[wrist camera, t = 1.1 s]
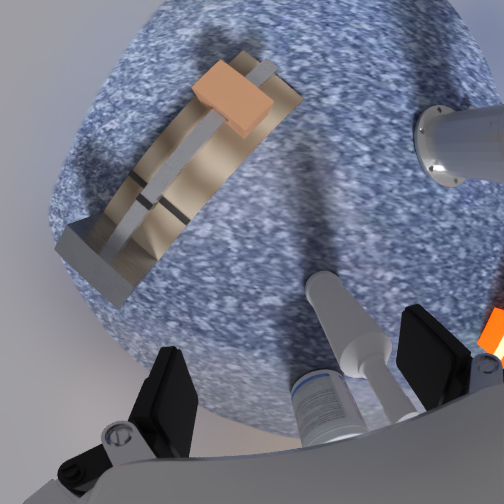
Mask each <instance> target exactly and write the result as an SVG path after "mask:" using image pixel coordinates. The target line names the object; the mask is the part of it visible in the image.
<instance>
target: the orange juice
mask: <svg viewBox="0 0 504 504" xmlns="http://www.w3.org/2000/svg"><path fill="white" fill-rule="evenodd" d="M477 344H479V345H480V346H481V347H482V348H483V349H484V350H485V351H486V352H487V353H490V354H493V355H495V356H497V357H498V358H499V359H500V360H501V362H502V365H503V367H504V310H501V309H498V308H494V310H493V312H492V314H491V316H490V319H489V321H488V323H487V325H486V327H485V329H484V331H483V333H482V335H481V337H480V339H479V341H478V342H477Z"/></svg>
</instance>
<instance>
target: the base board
mask: <svg viewBox="0 0 504 504" xmlns="http://www.w3.org/2000/svg"><path fill="white" fill-rule="evenodd" d="M258 64H260V62H259V61H257V60H256V59H255V58H253V57H252V56H251V55H249V54H248V53H247V52H245V51H244V50H243V51H242V52H241V53H239V54H238V55H237V56H236V57H235V58H234V59H233V60H232V61H230V62H229V63H228V65H229V66H231V67H232V68H233V69H235V70H236V71H237V72H238V73H240V74H241V75H242V76H244V77H245V76H246V75H247V74H248V73H250V72H251V71H252V70H253V69H254V68H255V67H256V66H257V65H258ZM260 90H261V91H262V92H264V93H265V94H266V95H267V96H268V97H270V98H271V99H272V100H273V101H274V103H273V105H272V107H271V109H270V112H269V114H268V116H267V117H266V118H265V119H264V120H263V121H262V122H261V123H260V124H259V125H258V126H257V127H256V128H255V129H254V130H253V131H252V132H251V133H250V134H249V135H248V136H247V137H246V138H245V139H243V138H242V137H241V136H240V135H239V134H238V133H236V132H235V131H234V130H233V129H232V128H230V127H229V126H228V125H227V124H225V125H224V126H223V127H222V128H221V129H220V130H219V131H218V132H217V133H216V134H215V135H214V136H213V138H212V139H211V140H210V141H209V142H208V143H207V144H206V145H205V146H204V148H203V149H202V150H201V151H200V152H199V153H198V154H197V155H196V157H195V158H194V159H193V160H192V161H191V162H190V163H189V165H188V166H187V167H186V168H185V169H184V171H183V172H182V173H181V174H180V175H179V177H178V178H177V179H176V180H175V181H174V183H173V184H172V185H171V186H170V187H169V189H168V190H167V191H166V192H165V194H164V195H163V196H162V197H161V199H160V200H159V201H158V204H157V205H156V207H155V208H154V209H152V210H151V212H150V213H149V214H148V216H147V217H146V218H145V220H144V221H143V222H142V224H141V225H140V226H139V228H138V229H137V230H136V232H135V233H134V235H133V236H132V237H131V238H132V239H133V240H134V241H136V242H137V243H138V244H139V245H140V246H141V247H142V248H144V249H145V250H146V251H147V252H148V253H149V254H151V255H152V256H153V257H154V258H155V259H156V260H159V259H160V258H161V257H162V255H163V254H164V253H165V252H166V250H167V249H168V248H169V247H170V245H171V244H172V243H173V242H174V240H175V239H176V238H177V237H178V236H179V234H180V233H181V232H182V231H183V230H184V228H185V227H186V226H187V225H188V224H189V222H190V221H191V220H192V219H193V218H194V216H195V215H196V214H197V213H198V212H199V211H200V209H201V208H202V207H203V206H204V205H205V204H206V202H207V201H208V200H209V199H210V198H211V197H212V195H213V194H214V193H215V192H216V191H217V190H218V189H219V188H220V186H221V185H222V184H223V183H224V182H225V181H226V180H227V179H228V177H229V176H230V175H231V174H232V173H233V172H234V171H235V170H236V169H237V168H238V166H239V165H240V164H241V163H242V162H243V161H244V160H245V159H246V158H247V157H248V156H249V155H250V154H251V152H252V151H253V150H254V149H255V148H256V147H257V146H258V145H259V144H260V143H261V142H262V141H263V140H264V139H265V138H266V137H267V136H268V135H269V134H270V133H271V132H272V131H273V130H274V128H275V127H276V126H277V125H278V124H279V123H280V122H281V121H282V120H283V119H284V118H285V117H286V116H287V115H288V114H289V113H290V112H291V111H292V110H293V109H294V108H295V107H297V106H298V105H299V104H300V103H301V102H302V101H303V98H302V97H301V96H300V95H299V94H298V93H296V92H295V91H294V90H293V89H292V88H291V87H290V86H288V85H287V84H286V83H285V82H284V81H282V80H281V79H280V78H279V77H278V76H276V75H275V76H273V77H272V78H271V79H270V80H269V81H268V82H267V83H266V84H265V85H264V86H263V87H262V88H261V89H260ZM209 112H210V110H209V109H207V108H206V107H205V106H204V105H202V104H201V102H200V101H199V99H198V97H197V96H195V97H194V98H193V99H192V100H191V101H190V102H189V103H188V104H187V105H186V106H185V107H184V108H183V109H182V111H181V112H180V113H179V114H178V115H177V116H176V117H175V118H174V119H173V121H172V122H171V123H170V124H169V125H168V126H167V127H166V129H165V130H164V131H163V132H162V133H161V135H160V136H159V137H158V138H157V139H156V141H155V142H154V143H153V144H152V145H151V147H150V148H149V149H148V150H147V152H146V153H145V154H144V155H143V157H142V158H141V159H140V161H139V162H138V163H137V165H136V166H135V167H134V169H133V170H131V172H130V173H129V174H128V177H127V178H126V179H125V181H124V182H123V184H122V185H121V186H120V188H119V189H118V191H117V192H116V193H115V195H114V196H113V198H112V199H111V201H110V202H109V204H108V205H107V207H106V208H105V210H104V211H103V212H104V213H105V214H106V215H107V216H108V217H109V218H110V219H111V220H112V221H113V222H115V223H116V224H117V225H118V224H119V223H120V222H121V220H122V219H123V217H124V216H125V214H126V213H127V212H128V210H129V209H130V207H131V206H132V205H133V203H134V202H135V201H136V197H137V196H138V195H139V193H141V192H142V191H143V190H144V188H145V187H146V186H147V185H148V183H149V182H150V181H151V179H152V178H153V177H154V176H155V174H156V173H157V172H158V171H159V169H160V168H161V167H162V166H163V164H164V163H165V162H166V161H167V159H168V158H169V157H170V156H171V155H172V153H173V152H174V151H175V150H176V149H177V148H178V146H179V145H180V144H181V143H182V142H183V141H184V139H185V138H186V137H187V136H188V135H189V134H190V133H191V132H192V130H193V129H194V128H195V127H196V126H197V125H198V124H199V123H200V122H201V121H202V119H203V118H204V117H205V116H206V115H207V114H208V113H209ZM154 266H155V265H154Z"/></svg>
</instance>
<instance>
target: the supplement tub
mask: <svg viewBox="0 0 504 504" xmlns="http://www.w3.org/2000/svg"><path fill="white" fill-rule="evenodd" d="M291 400H292V404H293V409H294V413H295V417H296V422H297V426H298V430H299V435H300V439H301V443H302V447H309V446H314V445H319V444H324V443H328V442H333V441H337V440H341V439H345V438H349V437H353V436H356V435H360V434H364V433H367V432H369V430H368V428H367V426H366V424H365V421H364V419H363V417H362V415H361V413H360V411H359V409H358V407H357V405H356V402H355V400H354V398H353V396H352V394H351V392H350V390H349V388H348V386H347V384H346V382H345V380H344V378H343V376H342V375H341V374H339V373H338V372H336V371H333V370H327V369H324V370H317V371H313V372H310V373H308V374H306V375H304V376H303V377H301V378H300V379H299V380H298V381H297V382H296V383H295V384H294V386H293V388H292V391H291Z"/></svg>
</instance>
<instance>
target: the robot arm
mask: <svg viewBox="0 0 504 504" xmlns="http://www.w3.org/2000/svg"><path fill="white" fill-rule="evenodd" d="M414 141H415V149H416V153H417V156H418V160H419V162H420V164H421V166H422V168H423V169H424V171H425V173H426V174H427V175H428V176H429V177H430V178H431V179H432V180H433V181H434V182H436V183H438V184H440V185H443V186H449V187H454V186H458V185H459V184H461V183H463V182H464V181H465V180H466V179H467V178H469V179H478V180H485V181H492V182H499V183H504V104H502V105H494V106H487V107H481V108H474V107H473V106H471V105H470V106H468V108H467V109H466V110H463V111H457V112H456V111H454V110H453V109H451V108H450V107H447V106H444V105H435V106H431V107H428V108H427V109H425V110H424V111H423V112H422V113H421V114H420V116H419V118H418V120H417V123H416V126H415V133H414ZM470 355H471V352H470V351H469V350H468V349H467V348H466V347H465V346H464V345H463V344H462V343H461V342H460V341H459V340H458V339H457V338H456V337H455V336H454V335H453V334H451V333H450V332H449V331H448V330H447V329H446V328H445V327H444V326H443V325H442V324H441V323H440V322H438V321H437V320H436V319H435V318H434V317H433V316H432V315H431V314H430V313H429V312H427V311H426V310H425V309H424V308H423V307H422V306H421V305H419V304H415V305H411V306H407V307H406V308H405V311H403V312H402V318H401V327H400V336H399V344H398V351H397V358H396V364H397V367H398V369H399V370H400V371H401V373H402V374H403V376H404V377H405V379H406V380H407V382H408V383H409V385H410V386H411V388H412V389H413V391H414V392H415V394H416V395H417V397H418V398H419V400H420V401H421V403H422V405H423V406H424V408H425V409H426V411H427V412H424V413H422V414H419V415H417V416H414V417H412V418H409V419H406V420H404V421H401V422H398V423H395V424H392V425H389V426H386V427H383V428H380V429H377V430H374V431H370V432H367V433H364V434H360V435H356V436H353V437H349V438H345V439H341V440H337V441H333V442H328V443H324V444H319V445H314V446H309V447H303V448H297V449H291V450H285V451H278V452H270V453H263V454H253V455H240V456H224V457H197V458H196V457H193V458H192V457H191V458H189V453H190V447H191V441H192V435H193V429H194V423H195V417H196V412H197V406H198V396H197V393H196V390H195V388H194V385H193V382H192V380H191V377H190V374H189V371H188V369H187V366H186V363H185V360H184V357H183V354H182V352H181V350H180V349H177V348H176V347H175V346H170V347H161V349H160V351H159V353H158V356H157V358H156V360H155V363H154V365H153V367H152V370H151V372H150V375H149V377H148V378H146V379H145V381H144V383H143V385H142V387H141V390H140V392H139V395H138V397H137V399H136V402H135V404H134V407H133V409H132V411H131V414H130V416H129V419H128V421H117V422H114V423H112V424H110V425H108V426H107V427H106V428H105V429H104V431H103V432H102V435H101V441H102V444H100V445H98V446H96V447H94V448H92V449H90V450H88V451H86V452H84V453H82V454H80V455H78V456H76V457H74V458H71V459H69V460H67V461H66V462H64V463H63V464H62V465H61V466H60V468H59V470H58V474H57V476H58V479H57V480H56V481H55V480H54V479H51V480H50V481H49V482H48V483H46V484H45V485H44V486H43V487H42V488H40V489H39V490H38V491H37V492H35V493H34V494H33V495H31V496H30V497H29V498H28V499H26V500H25V501H24V503H23V504H504V369H503V365H502V362H501V360H500V359H499V358H498V357H497V356H495V355H493V354H490V353H481V354H478V355H476V356H475V357H474V358H472V357H471V356H470Z"/></svg>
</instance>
